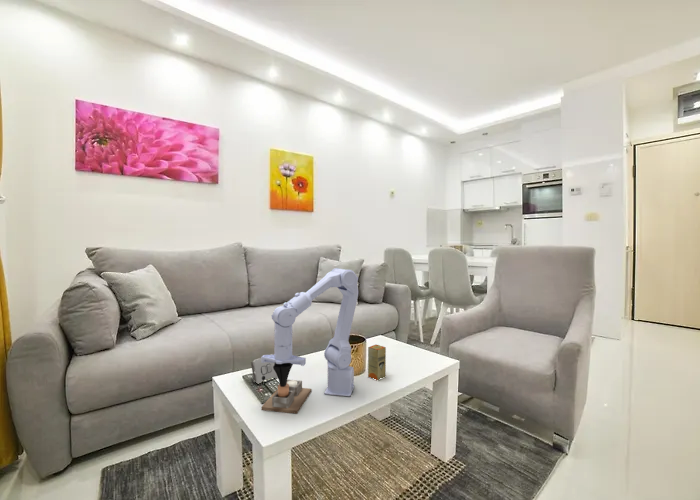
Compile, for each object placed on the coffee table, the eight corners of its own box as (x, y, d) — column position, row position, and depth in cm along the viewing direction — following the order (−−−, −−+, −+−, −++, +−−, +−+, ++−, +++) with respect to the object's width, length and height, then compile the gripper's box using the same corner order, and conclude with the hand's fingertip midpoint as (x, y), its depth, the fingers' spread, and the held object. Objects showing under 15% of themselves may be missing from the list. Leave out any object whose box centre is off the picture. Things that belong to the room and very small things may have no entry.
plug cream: (298, 389, 111) (298, 380, 111) (295, 393, 107) (295, 385, 107) (289, 388, 111) (289, 379, 111) (285, 392, 108) (285, 384, 108)
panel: (311, 391, 112) (311, 380, 112) (297, 413, 97) (297, 401, 97) (280, 388, 114) (280, 377, 114) (261, 410, 99) (261, 397, 99)
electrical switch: (258, 386, 116) (256, 361, 116) (250, 383, 119) (248, 359, 119) (278, 378, 123) (276, 354, 123) (270, 376, 126) (268, 352, 127)
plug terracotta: (290, 392, 103) (290, 383, 103) (286, 397, 99) (286, 388, 99) (280, 391, 103) (280, 382, 103) (275, 396, 100) (275, 387, 100)
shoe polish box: (368, 377, 124) (368, 347, 124) (375, 373, 128) (376, 344, 127) (377, 380, 121) (377, 350, 120) (385, 377, 124) (385, 347, 124)
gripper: (256, 346, 98) (256, 388, 99) (300, 349, 96) (300, 393, 96) (266, 339, 105) (266, 379, 106) (307, 342, 103) (307, 383, 103)
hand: (283, 385), depth 101 cm, fingers closed
